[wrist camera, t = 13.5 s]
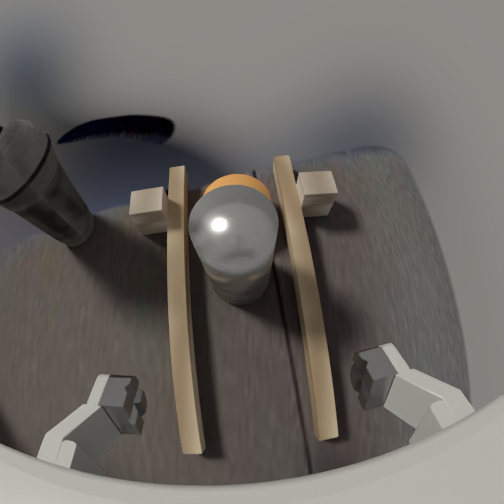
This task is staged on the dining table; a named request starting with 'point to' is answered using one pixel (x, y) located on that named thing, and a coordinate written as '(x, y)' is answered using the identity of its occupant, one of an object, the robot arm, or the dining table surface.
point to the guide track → (309, 308)
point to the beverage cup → (40, 184)
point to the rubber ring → (239, 183)
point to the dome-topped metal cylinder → (235, 240)
